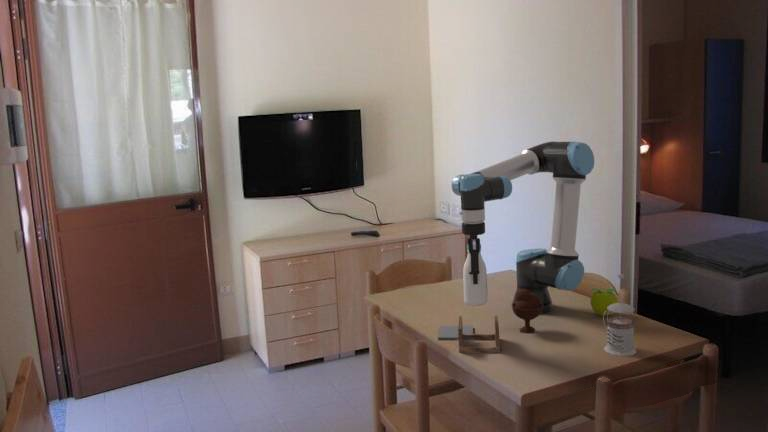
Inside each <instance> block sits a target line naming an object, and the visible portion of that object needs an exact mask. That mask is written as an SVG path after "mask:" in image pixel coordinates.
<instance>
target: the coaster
mask: <svg viewBox="0 0 768 432" xmlns="http://www.w3.org/2000/svg"><path fill="white" fill-rule="evenodd" d="M462 329H463V334H474V325H462ZM444 340H445V341H446V340H448V341H451V340H452V341H456V340H457V341H459V336H458V325H439V327H438V336H437V341H444ZM464 340H467V341H472V340H474V339H473V337H463V341H464Z"/></svg>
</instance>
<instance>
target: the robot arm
mask: <svg viewBox="0 0 768 432" xmlns="http://www.w3.org/2000/svg"><path fill="white" fill-rule="evenodd" d="M594 166H595V155H594V152H593V150H592V149H591V147H590V145H588V144H587V143H585V142H583V141H582V142H581V141H547V142H544V143H540V144H537V145H535V146H532V147H530V148H529V147H528V148H526V149H524V150H522V151H521V152H520V154H518V155H516V156H514V157H512V158H508V159H506V160H504V161H501V162H498V163H496V164H493V165H490V166H488V167H486V168H482V169H479V170H477V171H474V172H471V173H467V174H465V173H464V174H458V175H455V176H454V177H453V178H452V180H451V191H452V193H453V194H455V195H456V196H460V205H461V206H460V209H461V211H460V212H459V215H460V216H461V221H462V223H461V233H462V234H463V235H465V236H469V238H467V245H468V246H469V253H470V254H471V272H469V274H471V292H472V293H480V279H479V257H478V253H479V252H480V248H479V245H480V244H481V238H478V236H482V235H484V234H485V233H486V223H485V220H486V209H485V202H491V201H498V200H503V199H506V198H508V197H510V196H511V194H512V192H513V184H512V180H515V179H518V178H520V177H522V176H526V175H530V176H531V175H534V174H538V173H550V174H552V179H553V180H554V181H555V196H554V206H553V207H554V208H553V220H552V229H551V230H552V231H551V242H550V248H548V249H546V248H530V249H524V250H519V252H517V254H516V261H515V265H516V290H515V293H516V292H517V291H518V290H520V289H525V290H528V291H529V292H531V293H534V294H536V295H537V296H538V298H539V300H540V303H542V304H543V310H542V312H541V314H542V313H547V312H550V311H551V310H553V300H552V297H551V295H550V291H549V288H553V289H557V290H559V291H573V290H575V289H577V288H578V286H579V285H580V284H581V283H582V281H583V279H584V277H585V275H584V274H585V266H584V263H583V262H582V261H580V260H579V256H580V255H579V253H578V251H577V250H576V242H577V229H578V219H579V210H580V209H579V208H580V207H579V206H580V196H581V188H582V187H581V185H582V184H583V183H584V182H586V180H587V175H589V174H591V172H592V170H594ZM470 247H471V250H470ZM548 287H549V288H548ZM514 302H516V300H515V295H514V297H513V300H512V303H514Z"/></svg>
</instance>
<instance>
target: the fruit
mask: <svg viewBox="0 0 768 432" xmlns="http://www.w3.org/2000/svg"><path fill="white" fill-rule="evenodd" d="M590 291H594V292H593V294H592V295H591V298H590V307H591V308H592V310H593V311H594V313H596V315H598V316H600V317H601V316H602V317H603V315H604V313H605V311H606V310H608V309H607V307H608V306H609V305H611V304H615V303H618V298H617V297H616V295H615V294H614V293H613V292H616V289H612V288H608V289H606V290H605V288H603V289H602V290H600V289H598V288H591V289H590ZM608 312H609V310H608V311H606V313H605V315H604V317H607V314H608ZM610 313H613V312H611V311H610ZM610 313H609V314H608V316H611V314H610ZM613 314H614V313H613Z"/></svg>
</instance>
